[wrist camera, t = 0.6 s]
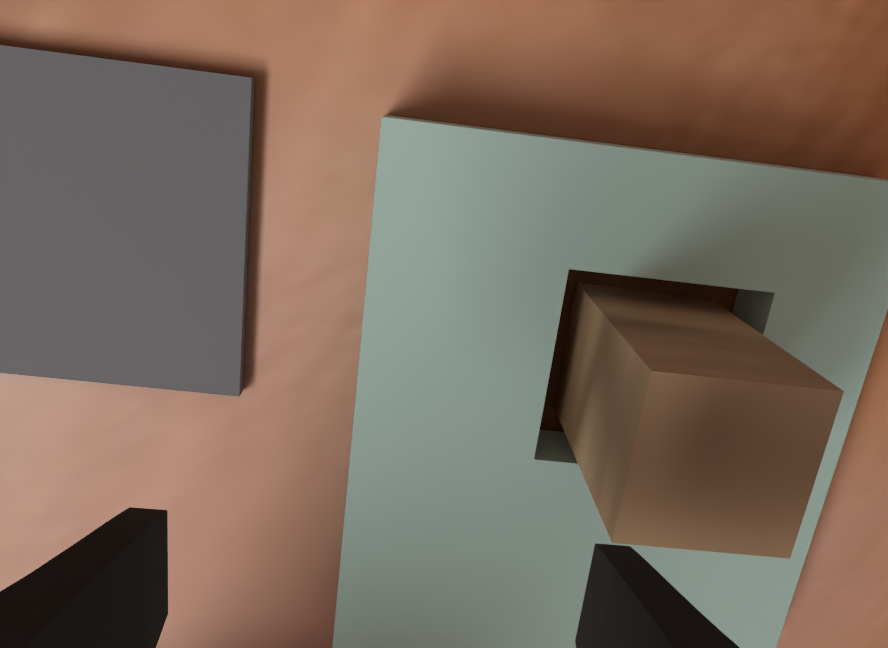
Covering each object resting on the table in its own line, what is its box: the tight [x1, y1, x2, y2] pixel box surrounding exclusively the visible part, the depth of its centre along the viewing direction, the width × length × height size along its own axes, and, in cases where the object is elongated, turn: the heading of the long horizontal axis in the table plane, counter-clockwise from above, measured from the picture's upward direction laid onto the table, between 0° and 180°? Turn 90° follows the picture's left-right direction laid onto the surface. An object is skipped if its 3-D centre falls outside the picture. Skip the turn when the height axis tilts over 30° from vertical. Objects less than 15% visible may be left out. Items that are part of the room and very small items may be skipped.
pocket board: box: [332, 115, 888, 648], centre depth 21 cm, size 16×14×2 cm
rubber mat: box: [0, 45, 255, 396], centre depth 19 cm, size 9×9×1 cm
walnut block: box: [553, 282, 844, 559], centre depth 18 cm, size 4×4×7 cm
